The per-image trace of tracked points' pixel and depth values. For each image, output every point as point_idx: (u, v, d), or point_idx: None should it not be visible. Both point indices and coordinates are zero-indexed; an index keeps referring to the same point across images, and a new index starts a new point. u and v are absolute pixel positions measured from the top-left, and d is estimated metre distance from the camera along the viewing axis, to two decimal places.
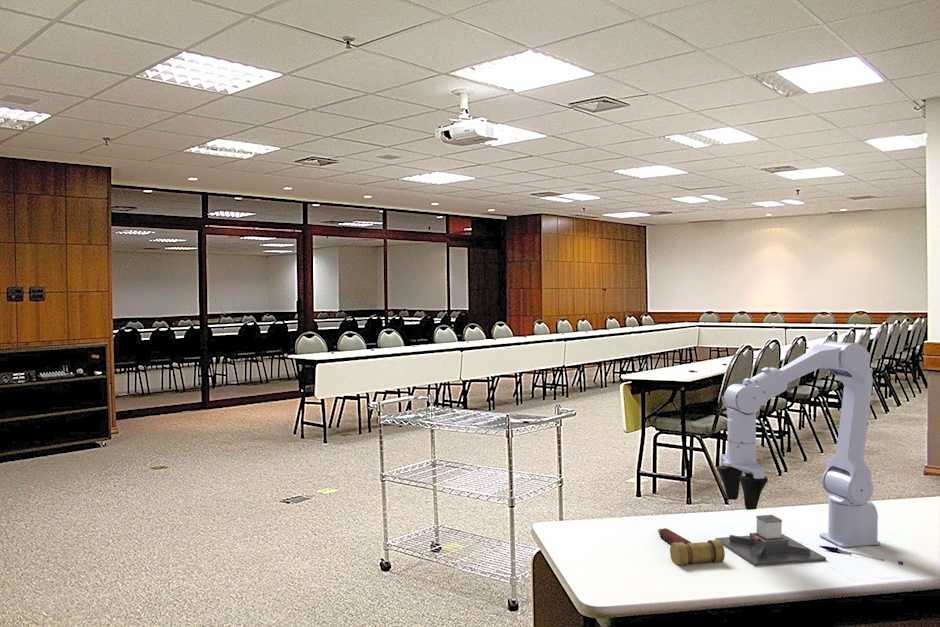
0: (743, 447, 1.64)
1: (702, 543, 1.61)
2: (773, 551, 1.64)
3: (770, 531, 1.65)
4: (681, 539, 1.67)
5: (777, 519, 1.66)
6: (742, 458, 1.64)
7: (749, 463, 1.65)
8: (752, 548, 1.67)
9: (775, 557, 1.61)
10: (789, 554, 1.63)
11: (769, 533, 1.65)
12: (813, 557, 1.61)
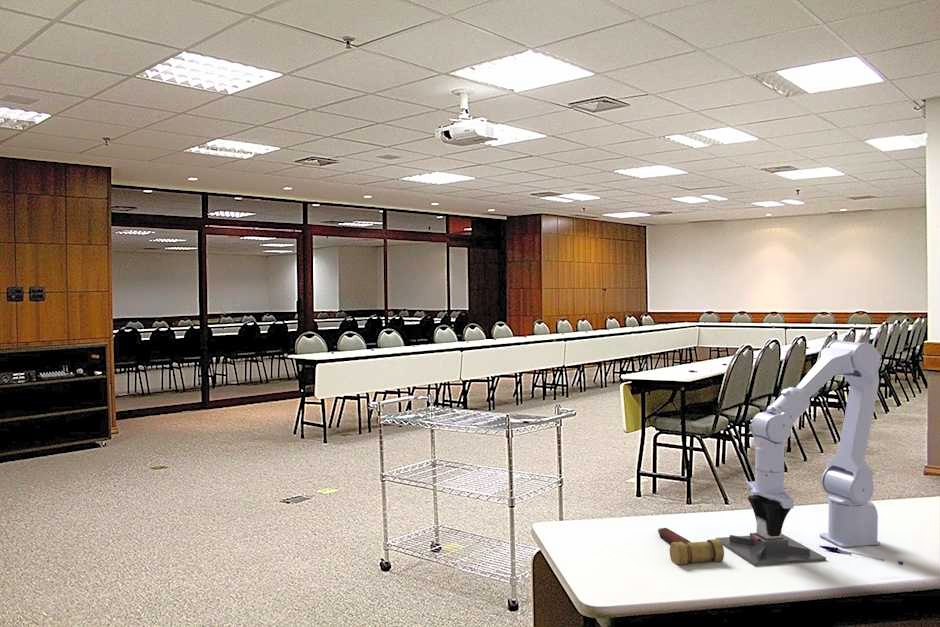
0: (771, 476, 1.64)
1: (701, 542, 1.61)
2: (773, 551, 1.64)
3: None
4: (681, 539, 1.67)
5: None
6: (770, 487, 1.64)
7: (777, 492, 1.64)
8: (752, 548, 1.67)
9: (775, 557, 1.61)
10: (789, 554, 1.63)
11: None
12: (813, 557, 1.61)
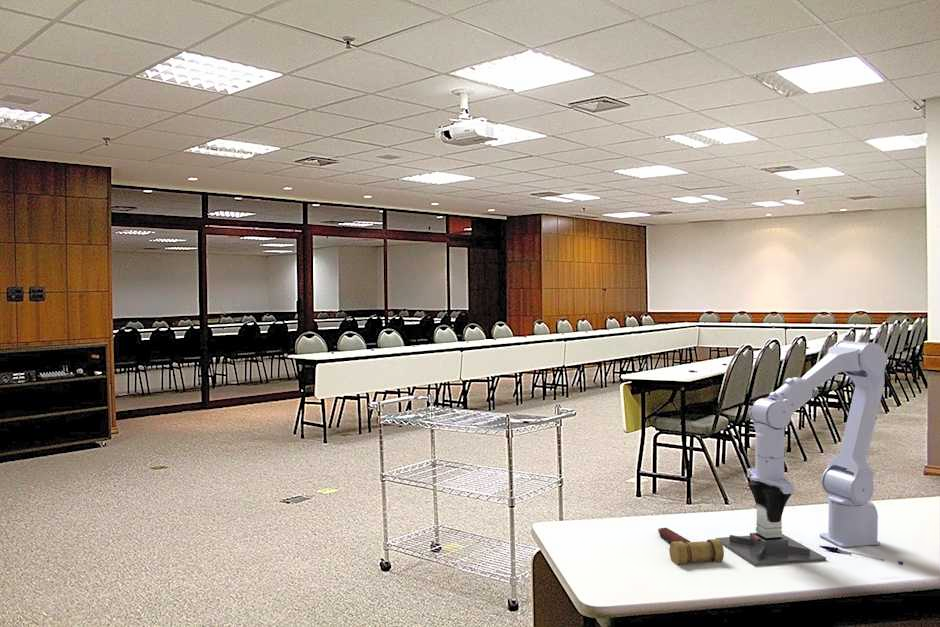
0: (772, 462, 1.64)
1: (701, 542, 1.61)
2: (773, 551, 1.64)
3: None
4: (681, 538, 1.67)
5: None
6: (771, 473, 1.64)
7: (778, 478, 1.64)
8: (752, 548, 1.67)
9: (775, 557, 1.61)
10: (789, 554, 1.63)
11: None
12: (813, 557, 1.61)
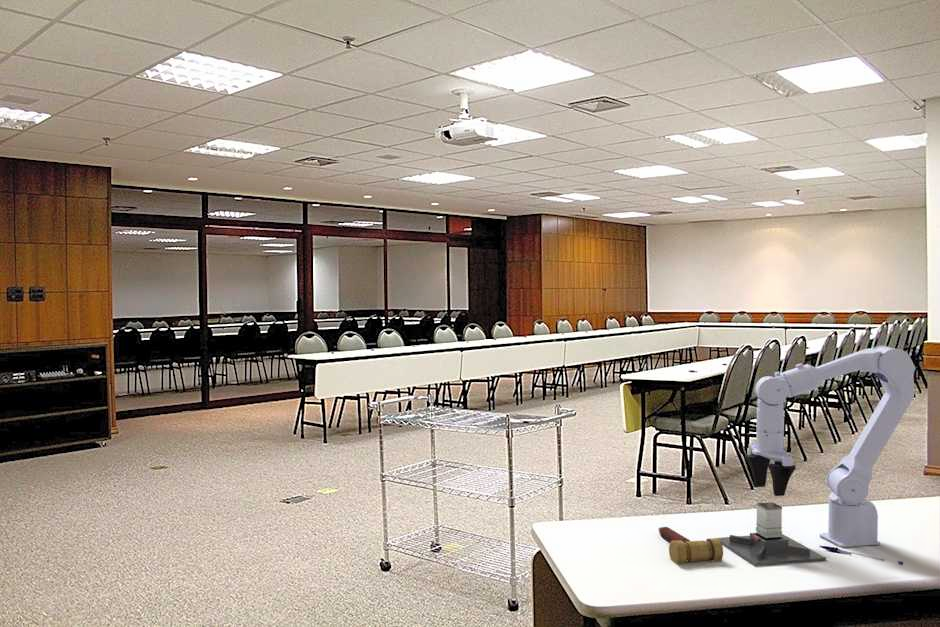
0: (772, 436, 1.73)
1: (701, 541, 1.62)
2: (773, 551, 1.64)
3: (770, 518, 1.65)
4: (680, 537, 1.68)
5: (777, 506, 1.66)
6: (771, 446, 1.73)
7: (777, 451, 1.73)
8: (752, 548, 1.67)
9: (775, 557, 1.61)
10: (789, 554, 1.63)
11: (769, 520, 1.65)
12: (813, 557, 1.61)
